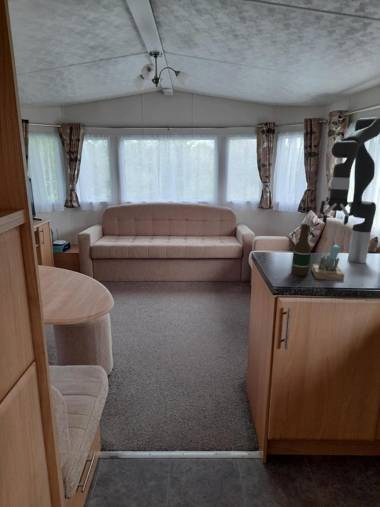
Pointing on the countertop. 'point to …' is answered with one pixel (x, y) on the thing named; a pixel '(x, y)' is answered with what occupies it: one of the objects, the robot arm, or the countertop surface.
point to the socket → (329, 274)
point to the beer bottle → (301, 253)
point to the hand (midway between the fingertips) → (334, 224)
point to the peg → (332, 255)
